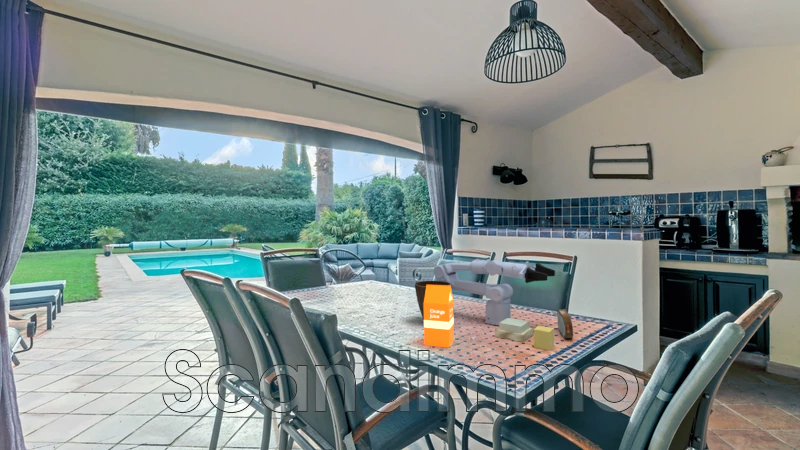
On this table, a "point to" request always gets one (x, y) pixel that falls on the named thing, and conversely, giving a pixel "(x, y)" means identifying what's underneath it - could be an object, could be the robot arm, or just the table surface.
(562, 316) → the tin
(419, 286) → the plant pot
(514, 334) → the oak plinth
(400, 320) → the table surface
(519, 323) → the sage top slab
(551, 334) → the mustard block
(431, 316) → the orange juice
